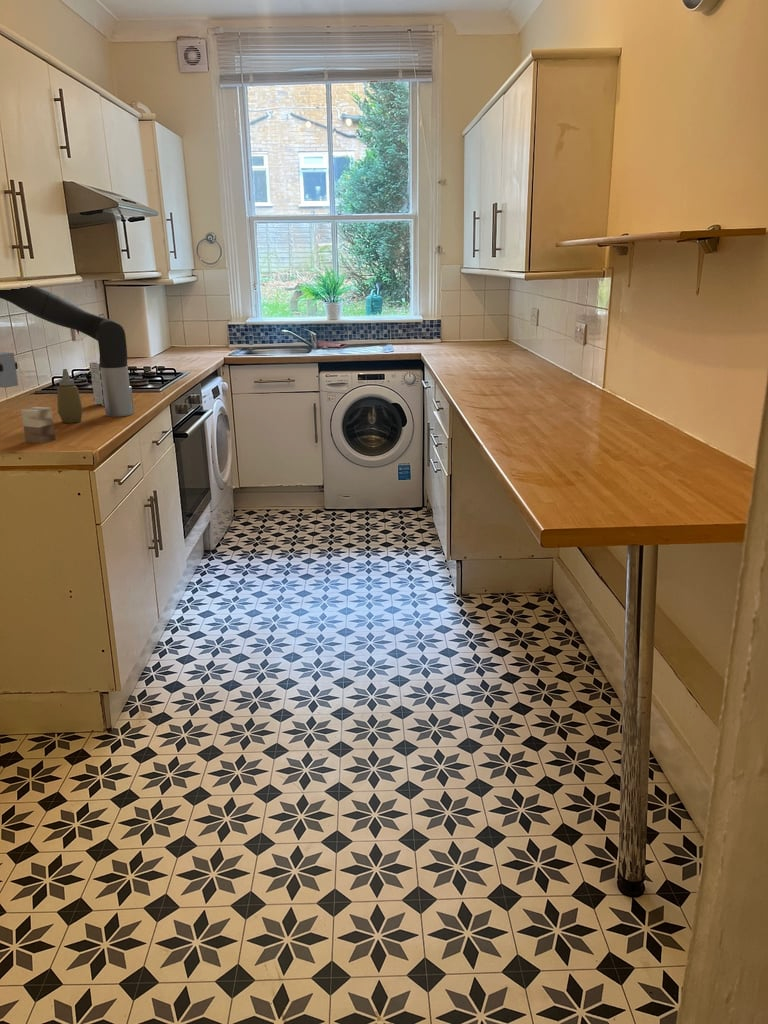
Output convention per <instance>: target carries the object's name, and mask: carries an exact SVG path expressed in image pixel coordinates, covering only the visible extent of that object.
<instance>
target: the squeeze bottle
mask: <svg viewBox="0 0 768 1024" xmlns="http://www.w3.org/2000/svg"><path fill="white" fill-rule="evenodd" d="M58 382H59V386H58V387H57V388H56V390H57V391H56V393H57V413H58V415H59V417H60V420H61V422H62V423H66V424H72V423H79V422H81V421H82V418H83V417H82V416H83V412H84V409H83V404H82V400H81V397H80V392H79V388H78V386H76V385H75V380H74V379H72V378H71V377H70V374H69V371H68V369H67V368H63V369H62V378H61V379H59V380H58Z"/></svg>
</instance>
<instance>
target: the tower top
mask: <svg viewBox="0 0 768 1024" xmlns="http://www.w3.org/2000/svg"><path fill="white" fill-rule="evenodd" d="M20 415H21V421H22V426H23V427H24V426H26V427H37V428H39V427H43V426H47V425H51V424H54V420H53V419H54V418H53V412H52V407H45V406H33V407H28V408H23V409H21V410H20Z"/></svg>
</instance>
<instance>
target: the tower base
mask: <svg viewBox="0 0 768 1024" xmlns="http://www.w3.org/2000/svg"><path fill="white" fill-rule="evenodd" d="M54 426H55V425H54V423H53V424H51V425H47V426H43V427H39V428H37V427H26V426H23V431H24V438H25V442H26V443H30V442H32V444H41V445H42V444H45V443H48V442H52V441H55V440H56V439H57V438H56V432H55V427H54Z"/></svg>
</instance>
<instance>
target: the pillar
mask: <svg viewBox="0 0 768 1024" xmlns="http://www.w3.org/2000/svg"><path fill="white" fill-rule="evenodd" d="M15 359H16V358H15V352H6V351H4V352H3V351H0V364H2V365H3V371H1V372H0V388H4V389H5V388H12V387H17V386H19V381H18V374H17V369H16V367H15V362H16V360H15Z"/></svg>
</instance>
